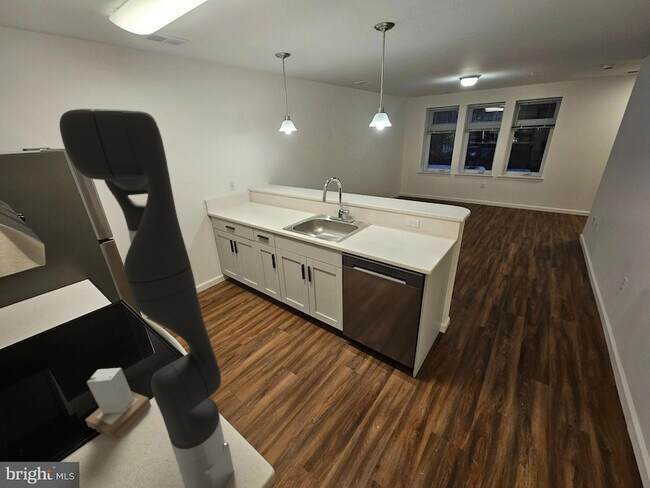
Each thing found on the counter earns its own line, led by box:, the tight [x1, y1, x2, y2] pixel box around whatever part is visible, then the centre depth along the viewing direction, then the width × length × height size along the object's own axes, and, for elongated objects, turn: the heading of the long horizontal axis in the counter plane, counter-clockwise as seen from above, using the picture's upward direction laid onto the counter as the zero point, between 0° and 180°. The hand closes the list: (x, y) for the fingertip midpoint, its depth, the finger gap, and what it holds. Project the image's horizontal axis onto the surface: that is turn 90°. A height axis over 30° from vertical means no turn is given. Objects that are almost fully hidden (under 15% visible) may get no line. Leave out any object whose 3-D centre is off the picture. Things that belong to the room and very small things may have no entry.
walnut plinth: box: [84, 390, 152, 441], centre depth 73 cm, size 10×10×3 cm
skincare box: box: [86, 367, 134, 414], centre depth 70 cm, size 6×4×12 cm
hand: (162, 297), depth 76 cm, fingers open, 8 cm apart
